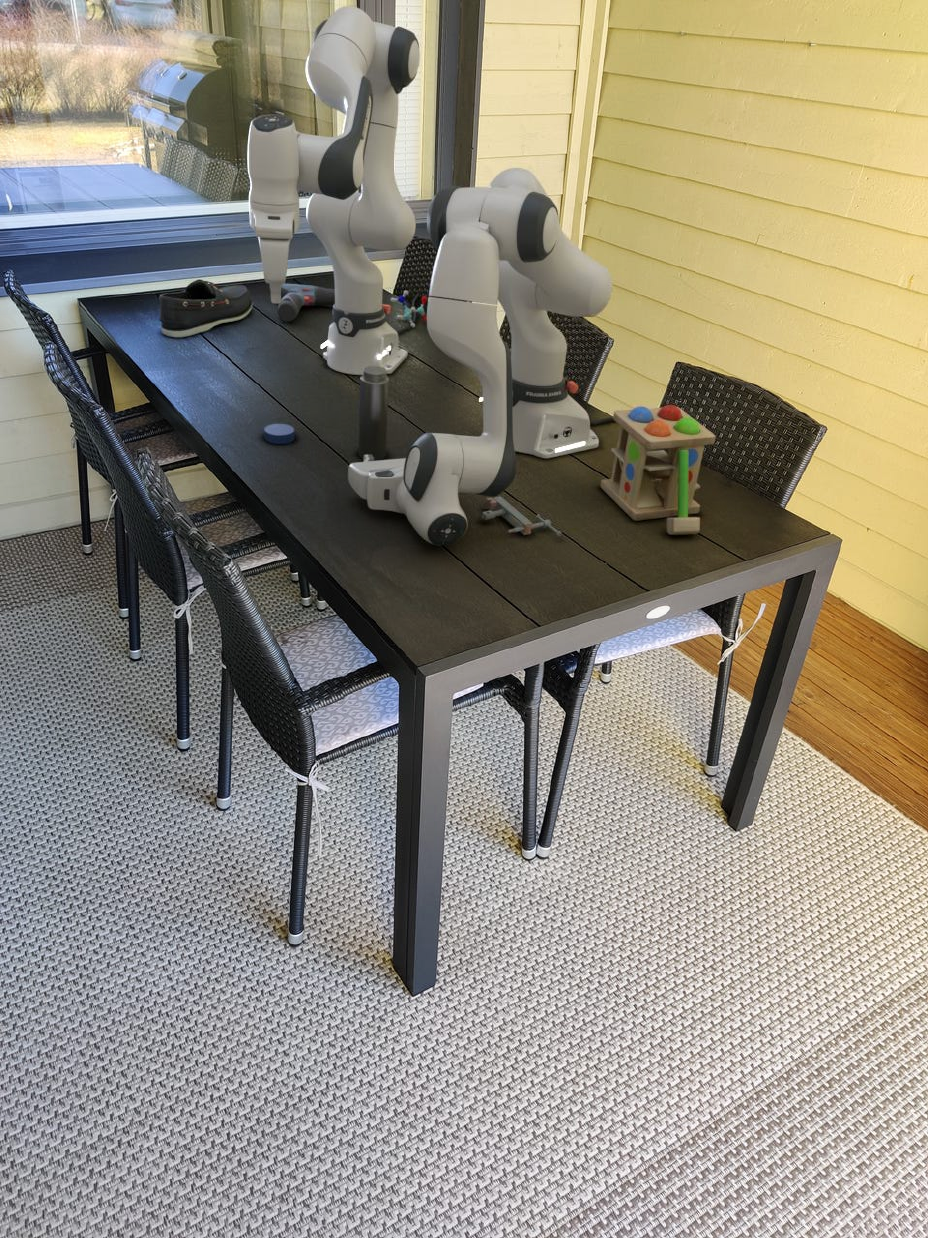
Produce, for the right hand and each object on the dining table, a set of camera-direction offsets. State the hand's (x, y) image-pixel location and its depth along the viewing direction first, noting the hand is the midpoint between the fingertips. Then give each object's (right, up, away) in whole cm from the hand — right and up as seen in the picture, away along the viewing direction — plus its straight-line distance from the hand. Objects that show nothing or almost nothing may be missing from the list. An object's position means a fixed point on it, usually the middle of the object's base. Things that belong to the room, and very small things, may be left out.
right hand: (391, 455), depth 185 cm
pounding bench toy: (+51, -10, +2) cm, 52 cm away
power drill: (-29, +53, +82) cm, 102 cm away
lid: (-24, +7, +14) cm, 28 cm away
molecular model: (-1, +50, +83) cm, 97 cm away
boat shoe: (-53, +47, +70) cm, 100 cm away
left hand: (-21, +30, -1) cm, 37 cm away
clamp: (+23, -14, -8) cm, 28 cm away
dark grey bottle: (-5, +2, +12) cm, 13 cm away
